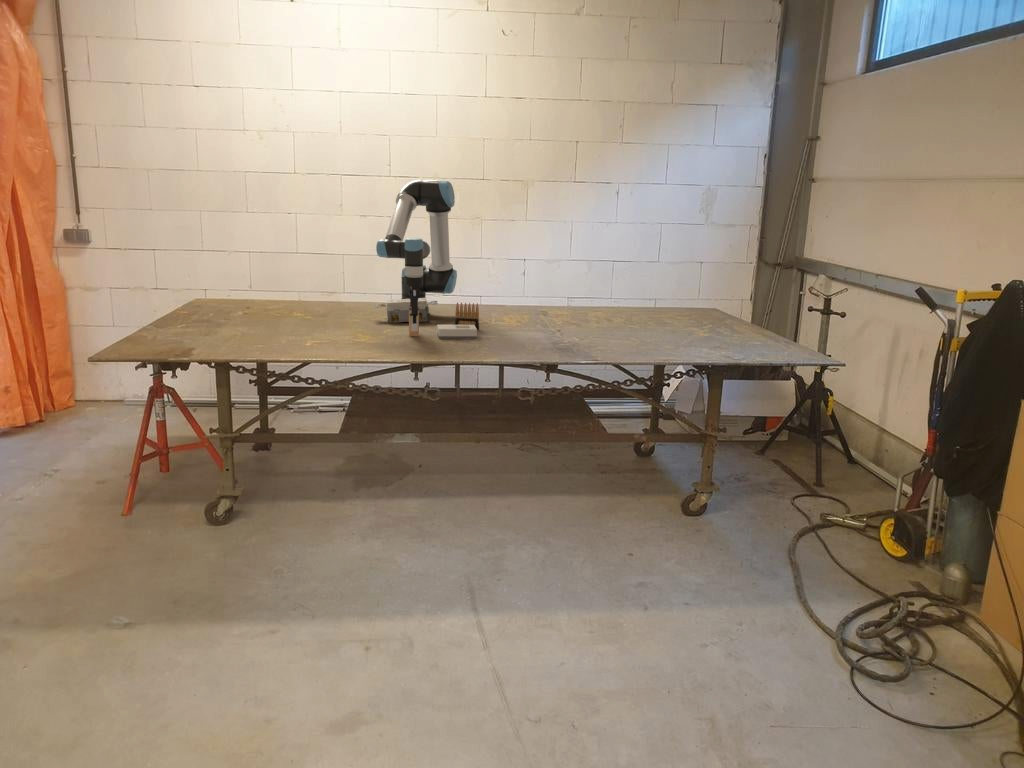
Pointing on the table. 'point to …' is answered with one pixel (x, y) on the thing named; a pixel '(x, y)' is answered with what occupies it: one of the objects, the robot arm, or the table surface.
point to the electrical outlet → (404, 309)
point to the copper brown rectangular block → (411, 333)
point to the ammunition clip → (467, 315)
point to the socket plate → (456, 332)
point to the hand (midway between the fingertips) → (413, 328)
